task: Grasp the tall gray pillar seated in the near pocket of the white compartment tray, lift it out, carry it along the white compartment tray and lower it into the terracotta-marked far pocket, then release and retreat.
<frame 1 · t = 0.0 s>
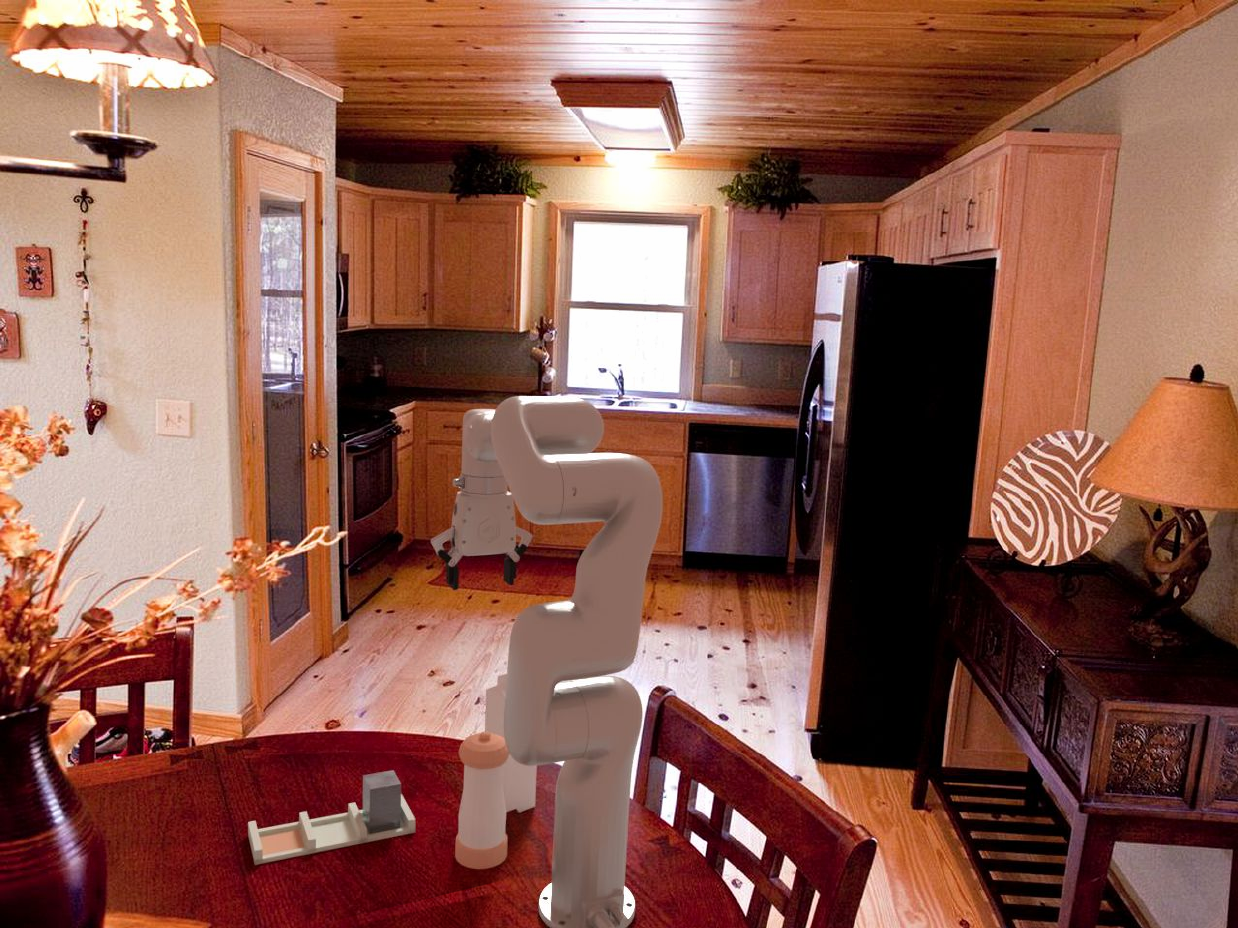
hand: (481, 585, 159), 31 cm above the table, fingers open, 9 cm apart
white compartment tray: (332, 839, 138), on the table
tall gray pillar: (381, 823, 141), point 1 cm above the table, touching white compartment tray
pepper shaker: (481, 861, 135), on the table
milk: (508, 806, 150), on the table
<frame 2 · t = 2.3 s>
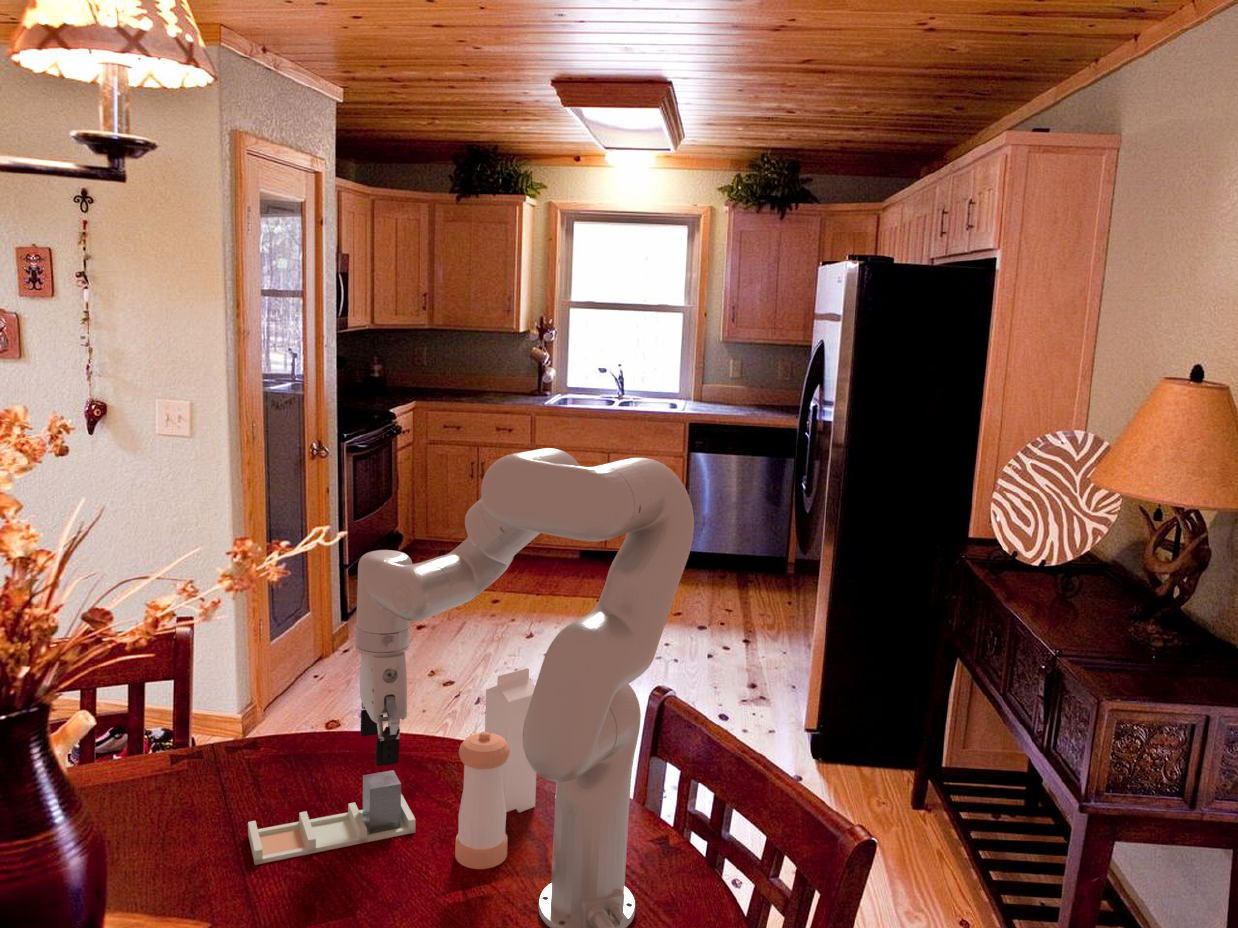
hand: (378, 748, 139), 13 cm above the table, fingers open, 9 cm apart
nothing on the table moved.
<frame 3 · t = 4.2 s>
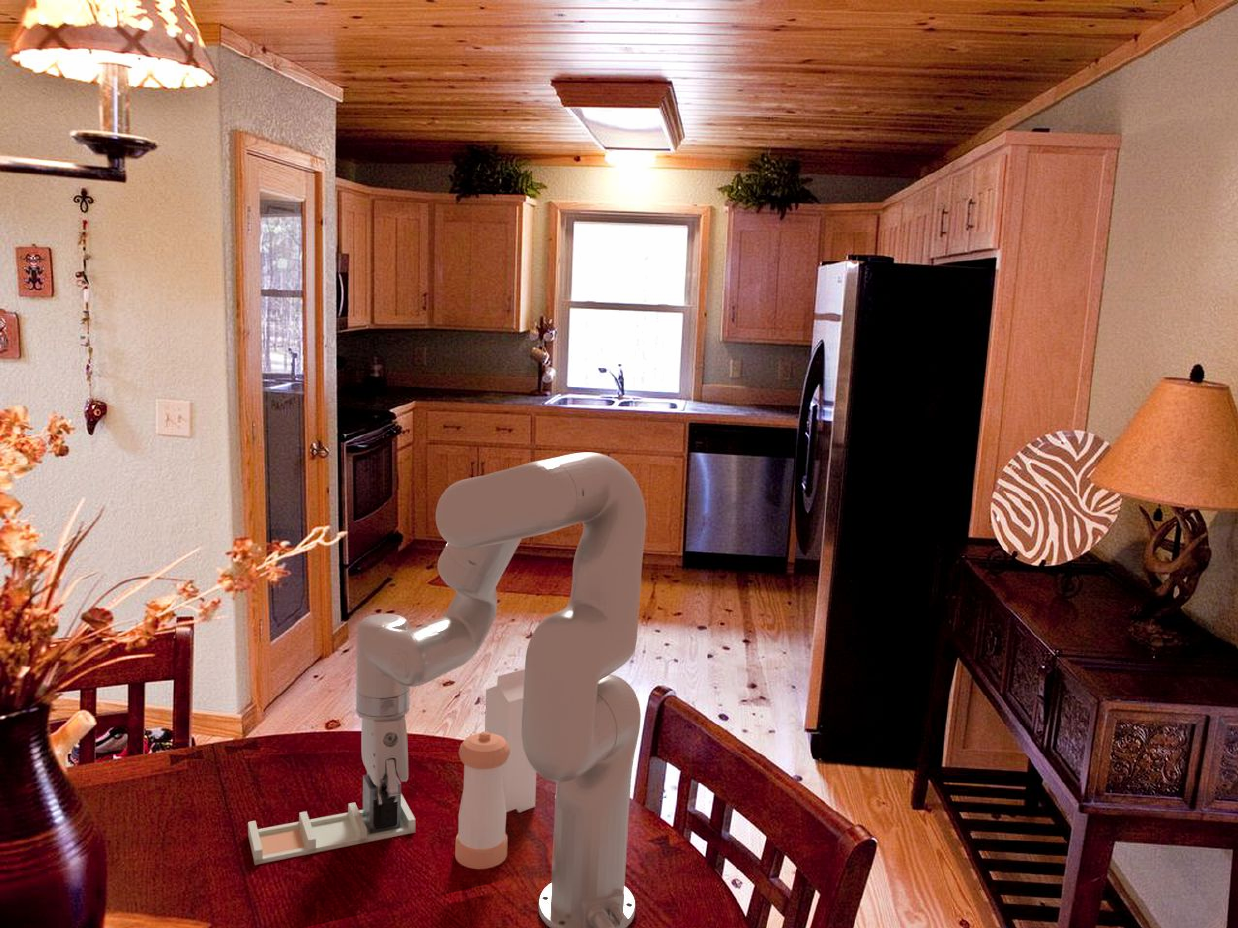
hand: (381, 816, 141), 2 cm above the table, fingers closed on tall gray pillar, 4 cm apart
tall gray pillar: (381, 823, 141), point 1 cm above the table, touching gripper, white compartment tray
everything else where it was.
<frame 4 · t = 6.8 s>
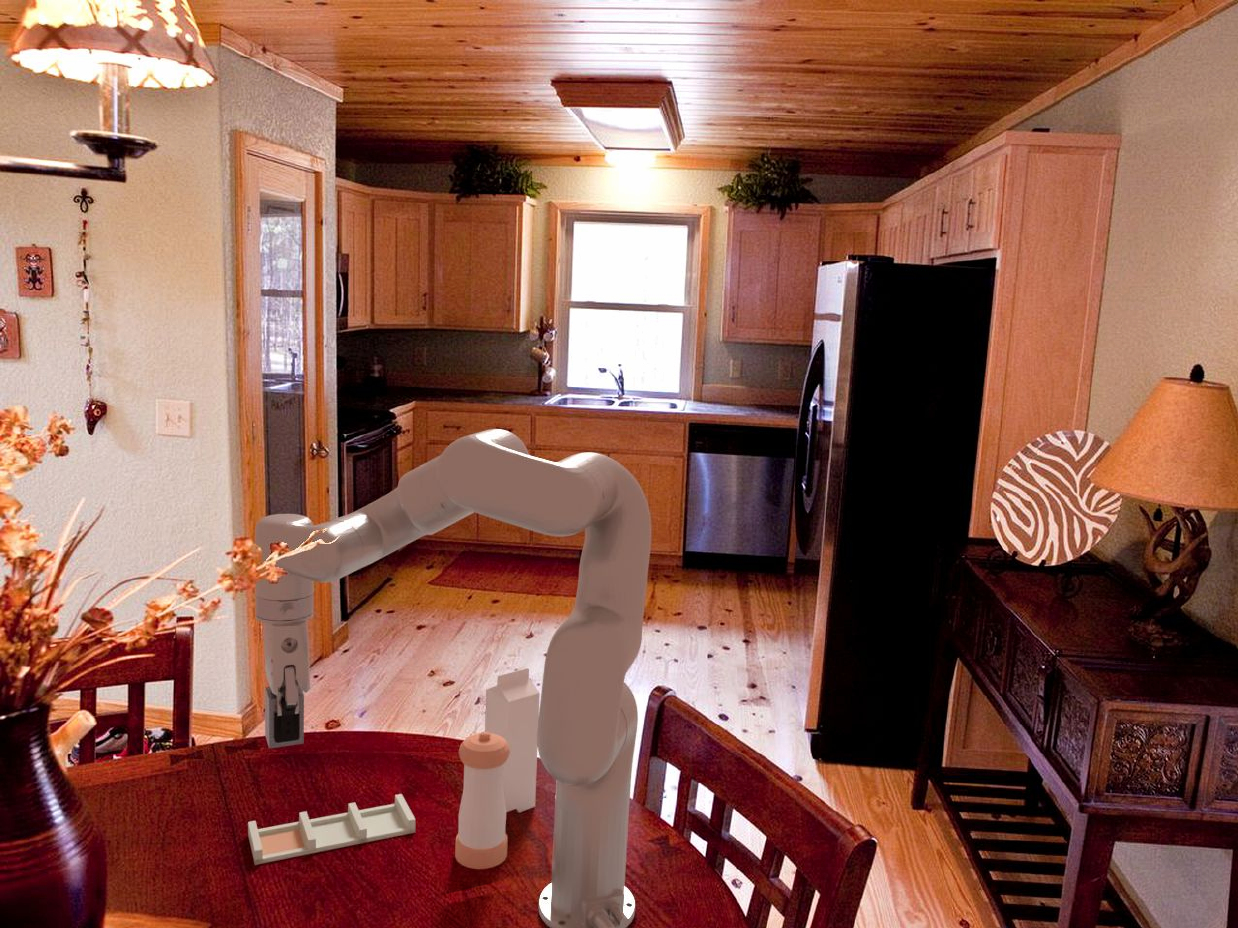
hand: (284, 731, 132), 18 cm above the table, fingers closed on tall gray pillar, 4 cm apart
tall gray pillar: (284, 738, 132), point 16 cm above the table, touching gripper
everything else where it was.
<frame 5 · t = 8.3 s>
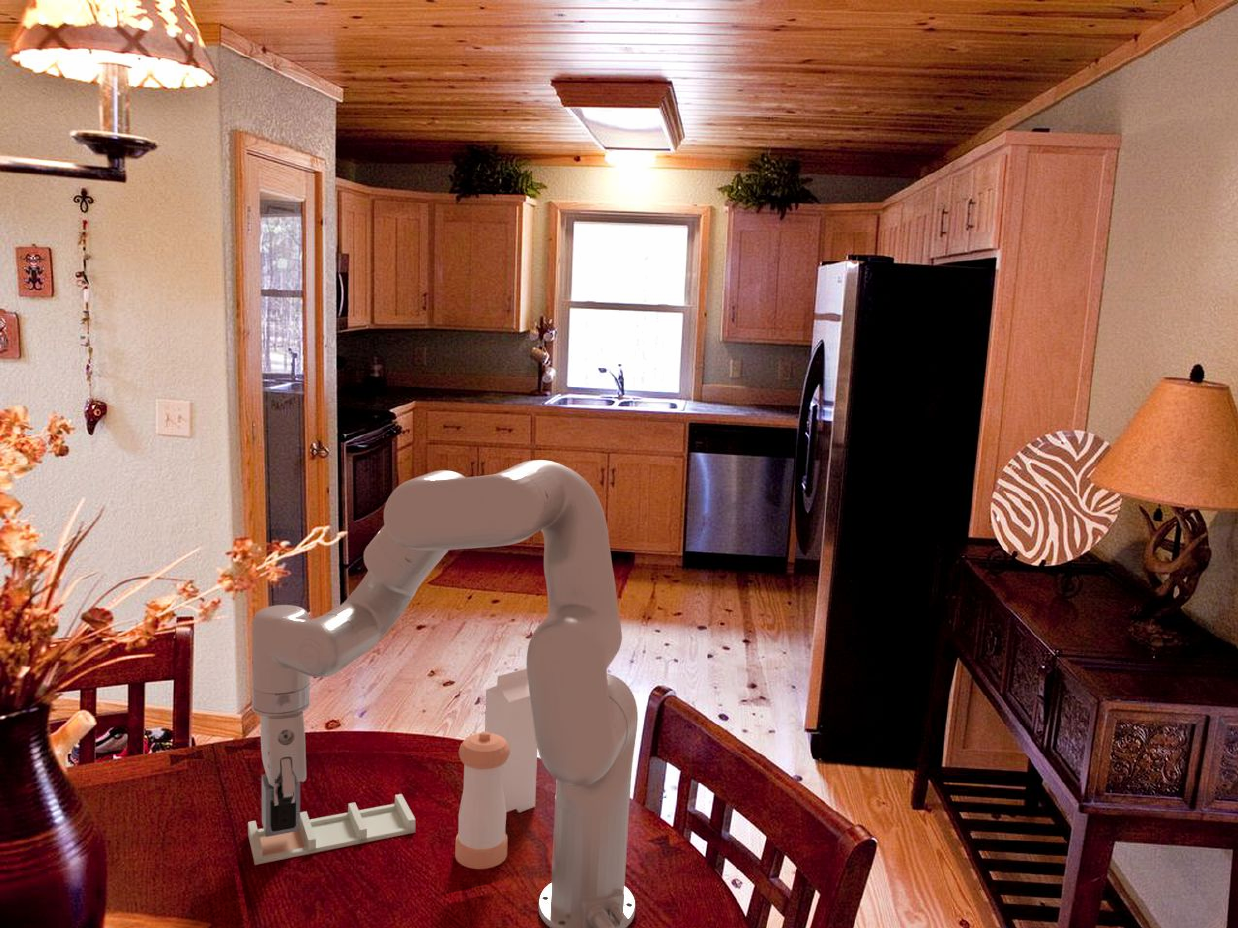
hand: (280, 817, 134), 5 cm above the table, fingers closed on tall gray pillar, 4 cm apart
tall gray pillar: (280, 825, 134), point 4 cm above the table, touching gripper
everything else where it was.
when the fingers open (4 cm above the table, at t = 9.2 s): tall gray pillar drops 1 cm, resting on white compartment tray.
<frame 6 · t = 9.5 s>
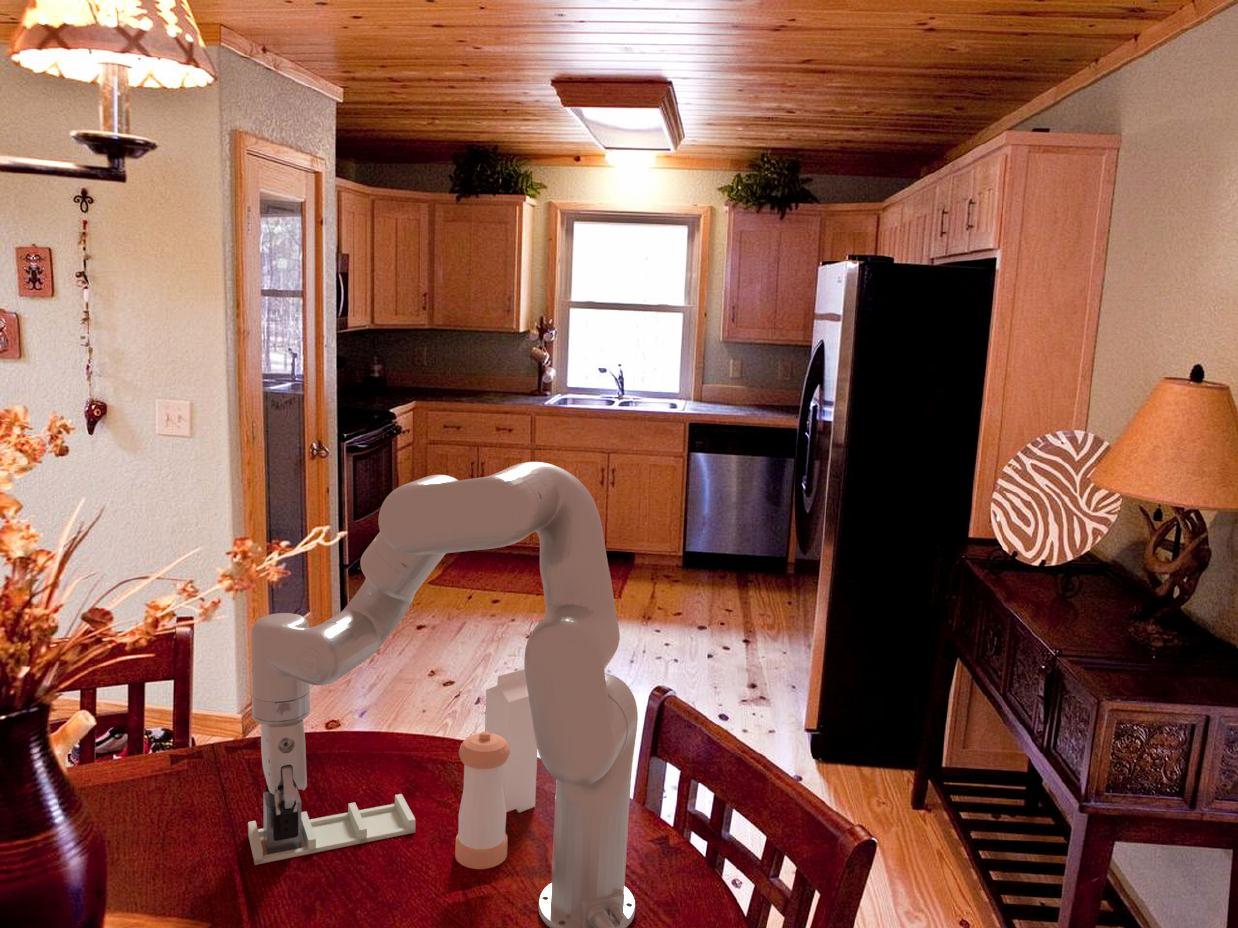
hand: (281, 822, 134), 4 cm above the table, fingers open, 7 cm apart
tall gray pillar: (282, 843, 134), point 1 cm above the table, touching white compartment tray
everything else where it was.
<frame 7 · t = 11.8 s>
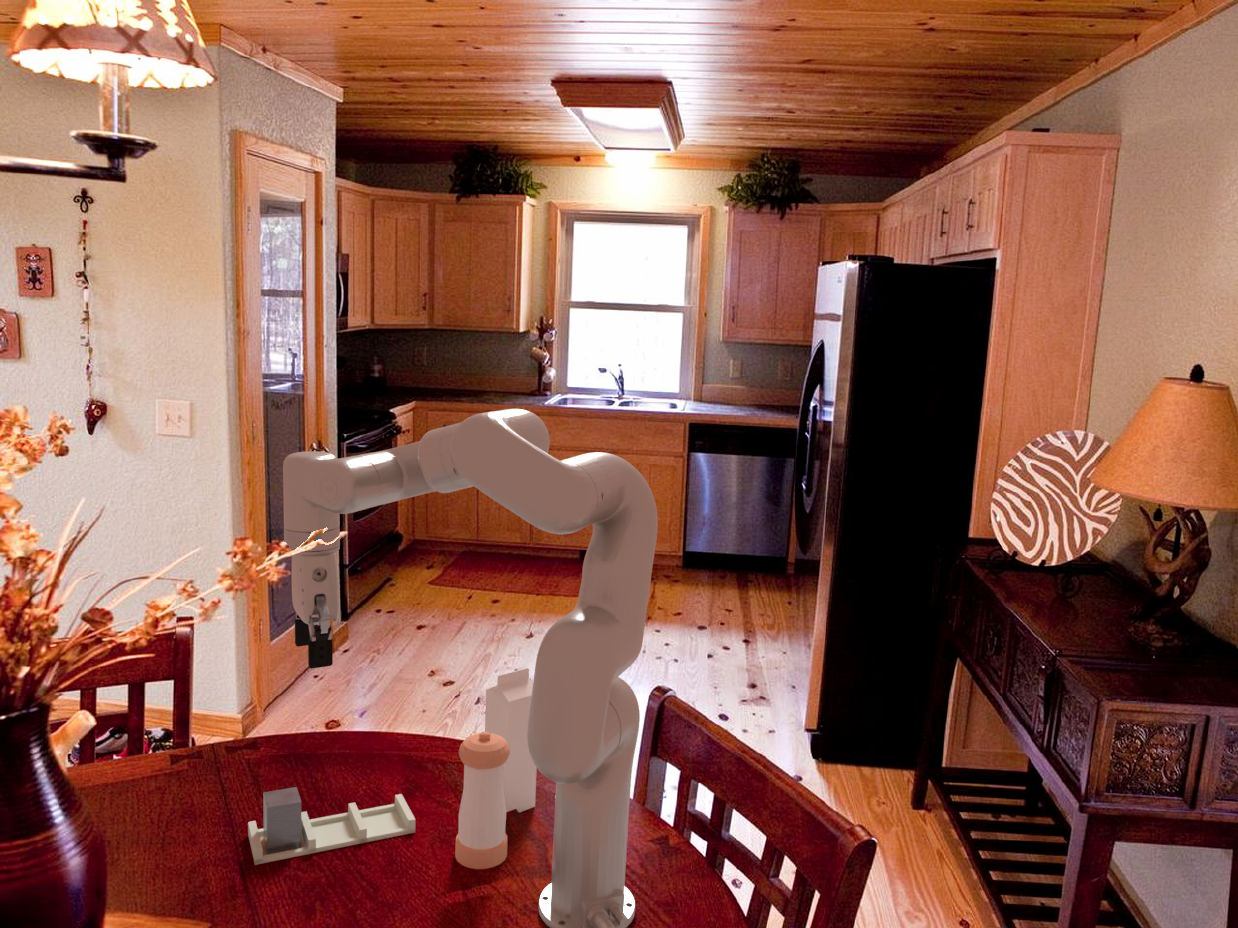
hand: (313, 655, 137), 26 cm above the table, fingers open, 9 cm apart
nothing on the table moved.
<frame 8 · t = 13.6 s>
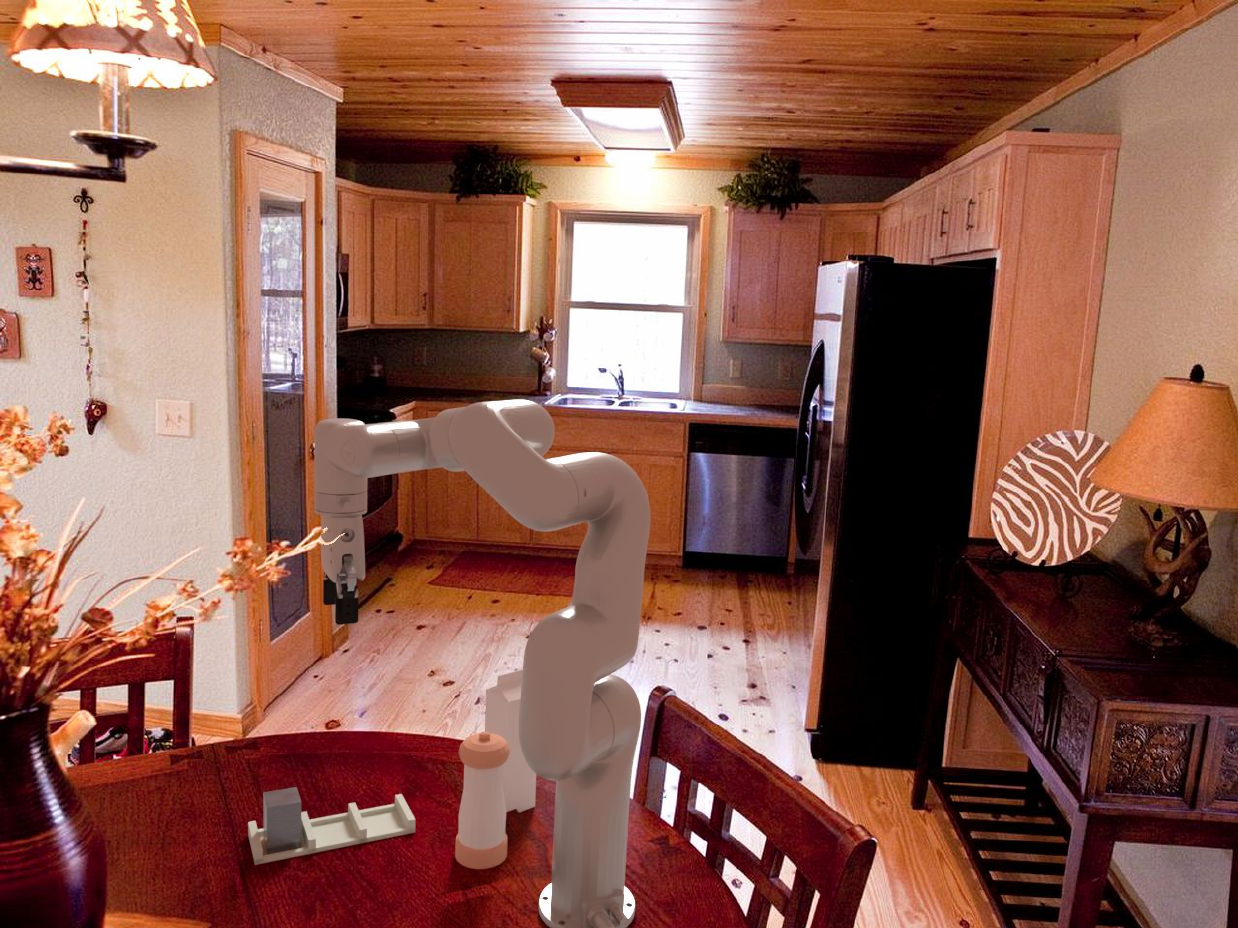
hand: (340, 613, 144), 30 cm above the table, fingers open, 9 cm apart
nothing on the table moved.
at the end: tall gray pillar 0.1 cm from the target spot on the white compartment tray, point 1.0 cm above the white compartment tray's base; tall gray pillar tilted 0°; the gripper is holding nothing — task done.
